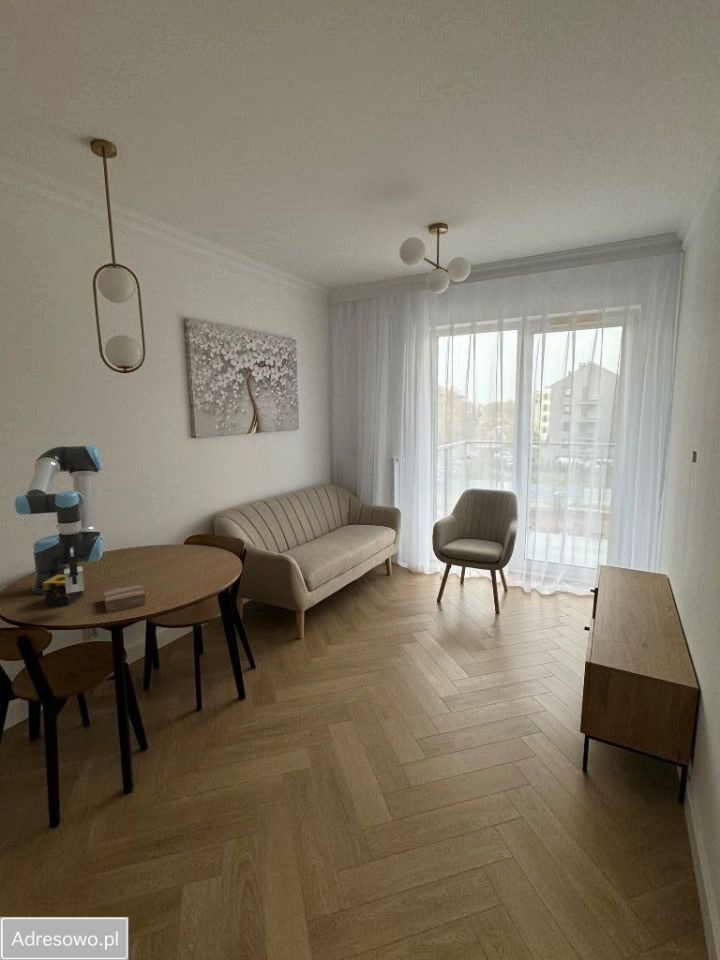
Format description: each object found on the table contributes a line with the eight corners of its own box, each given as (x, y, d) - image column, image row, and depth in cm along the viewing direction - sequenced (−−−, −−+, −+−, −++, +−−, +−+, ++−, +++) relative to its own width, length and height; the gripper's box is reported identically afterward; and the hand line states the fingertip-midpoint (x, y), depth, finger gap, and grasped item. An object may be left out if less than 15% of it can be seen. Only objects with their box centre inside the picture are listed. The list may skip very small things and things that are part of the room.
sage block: (66, 588, 183) (64, 568, 181) (83, 585, 186) (82, 566, 185) (66, 593, 178) (64, 573, 176) (84, 590, 181) (82, 571, 180)
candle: (83, 596, 198) (81, 574, 197) (69, 606, 188) (67, 582, 187) (59, 596, 198) (57, 574, 196) (44, 606, 188) (42, 582, 186)
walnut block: (104, 601, 194) (103, 589, 193) (140, 594, 202) (139, 583, 201) (107, 613, 182) (106, 601, 182) (145, 605, 190) (144, 594, 189)
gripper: (58, 527, 184) (63, 582, 188) (58, 539, 168) (64, 599, 172) (80, 524, 188) (84, 578, 192) (82, 536, 172) (87, 595, 176)
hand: (75, 588), depth 182 cm, fingers closed on sage block, 6 cm apart
